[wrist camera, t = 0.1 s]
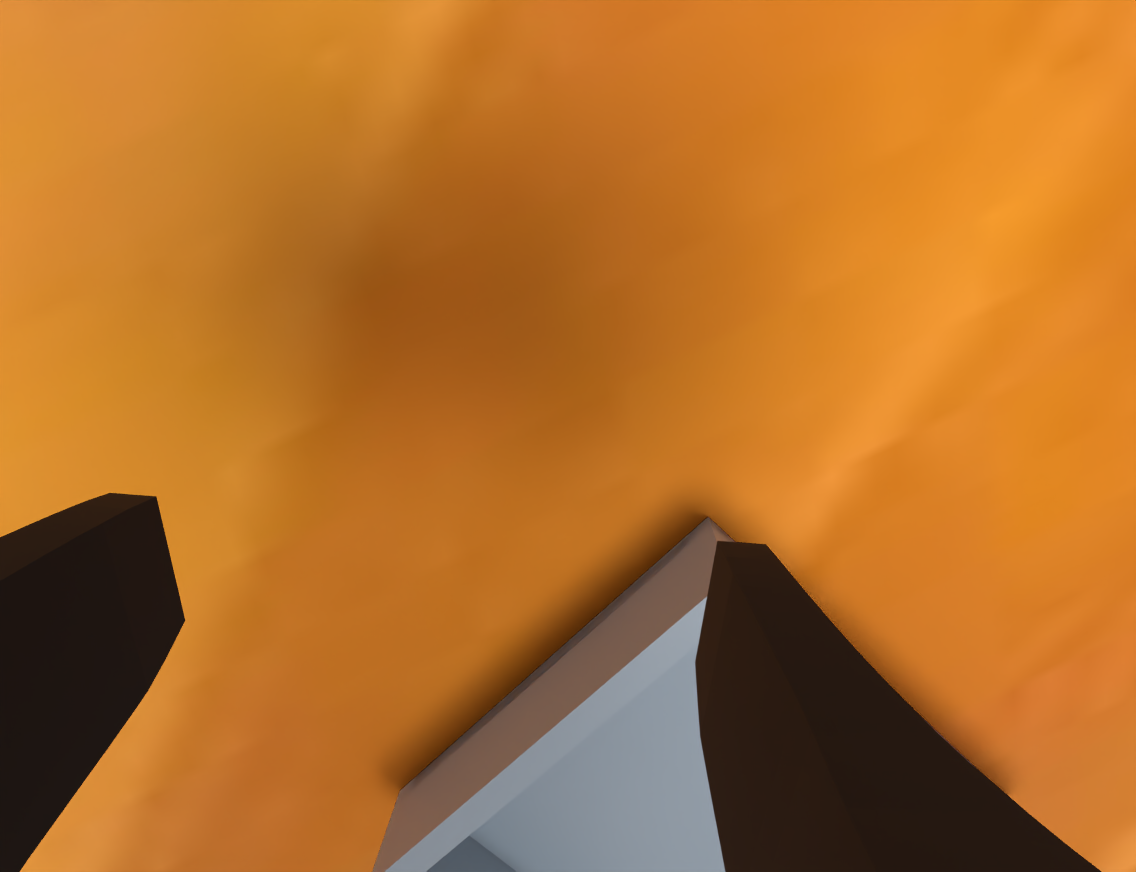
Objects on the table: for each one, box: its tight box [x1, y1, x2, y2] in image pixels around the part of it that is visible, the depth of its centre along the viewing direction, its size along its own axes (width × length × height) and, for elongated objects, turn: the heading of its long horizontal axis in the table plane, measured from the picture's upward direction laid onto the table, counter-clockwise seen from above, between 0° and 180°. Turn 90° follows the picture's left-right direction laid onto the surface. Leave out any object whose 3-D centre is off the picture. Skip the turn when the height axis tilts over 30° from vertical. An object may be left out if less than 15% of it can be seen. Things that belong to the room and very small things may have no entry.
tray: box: [372, 517, 976, 872], centre depth 22 cm, size 14×14×4 cm
